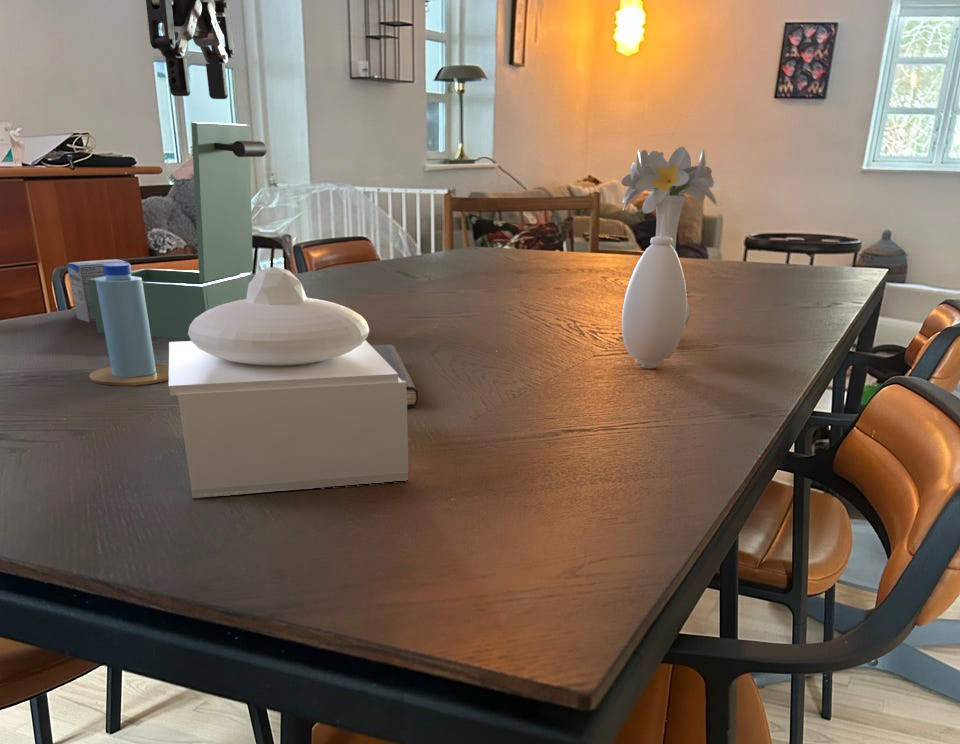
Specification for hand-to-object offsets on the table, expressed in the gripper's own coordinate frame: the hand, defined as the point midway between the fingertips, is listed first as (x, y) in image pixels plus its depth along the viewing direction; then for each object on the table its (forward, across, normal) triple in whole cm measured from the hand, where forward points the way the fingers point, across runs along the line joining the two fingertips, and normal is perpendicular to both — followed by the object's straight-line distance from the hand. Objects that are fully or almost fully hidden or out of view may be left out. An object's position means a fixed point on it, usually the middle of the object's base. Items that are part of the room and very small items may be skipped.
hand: (200, 97), depth 109 cm
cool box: (+29, -8, -13) cm, 33 cm away
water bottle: (+29, +18, -2) cm, 34 cm away
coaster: (+29, +18, -2) cm, 35 cm away
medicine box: (+29, -12, -28) cm, 42 cm away
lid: (+12, -8, -3) cm, 14 cm away
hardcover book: (+30, +14, +22) cm, 40 cm away
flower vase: (+30, -30, +53) cm, 68 cm away
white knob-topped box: (+30, +41, +30) cm, 59 cm away
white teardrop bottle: (+30, -8, +56) cm, 64 cm away
